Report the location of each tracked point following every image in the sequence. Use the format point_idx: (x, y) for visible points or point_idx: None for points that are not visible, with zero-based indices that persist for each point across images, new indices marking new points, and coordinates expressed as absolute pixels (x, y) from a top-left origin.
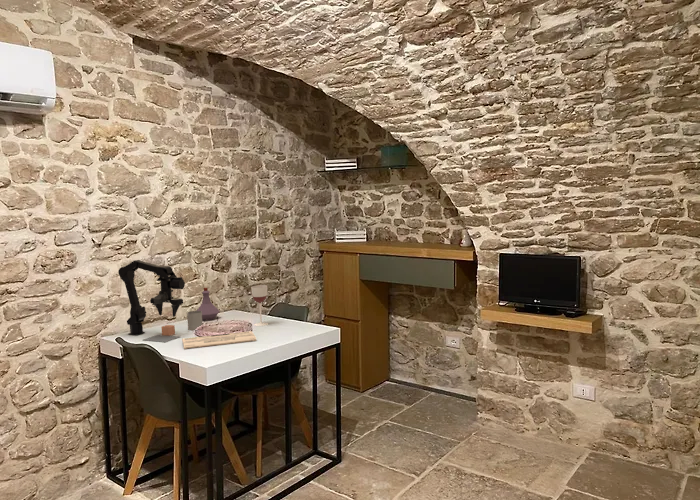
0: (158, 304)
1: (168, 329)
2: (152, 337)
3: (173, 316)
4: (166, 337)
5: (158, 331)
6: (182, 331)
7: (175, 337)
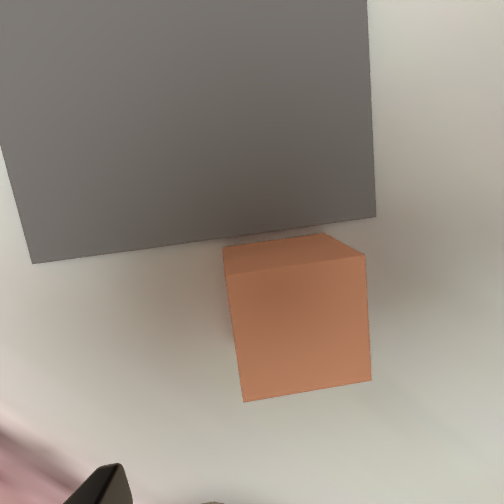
0: None
1: (224, 267)
2: (329, 83)
3: (101, 468)
4: (157, 158)
5: (493, 334)
6: (245, 442)
7: (47, 207)
